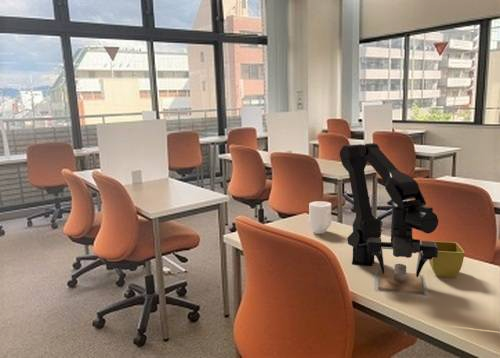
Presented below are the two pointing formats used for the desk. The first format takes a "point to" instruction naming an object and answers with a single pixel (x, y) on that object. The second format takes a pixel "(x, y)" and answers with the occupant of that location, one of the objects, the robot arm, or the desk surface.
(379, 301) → the desk surface
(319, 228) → the mug
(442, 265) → the flower pot
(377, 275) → the tray
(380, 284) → the lid
